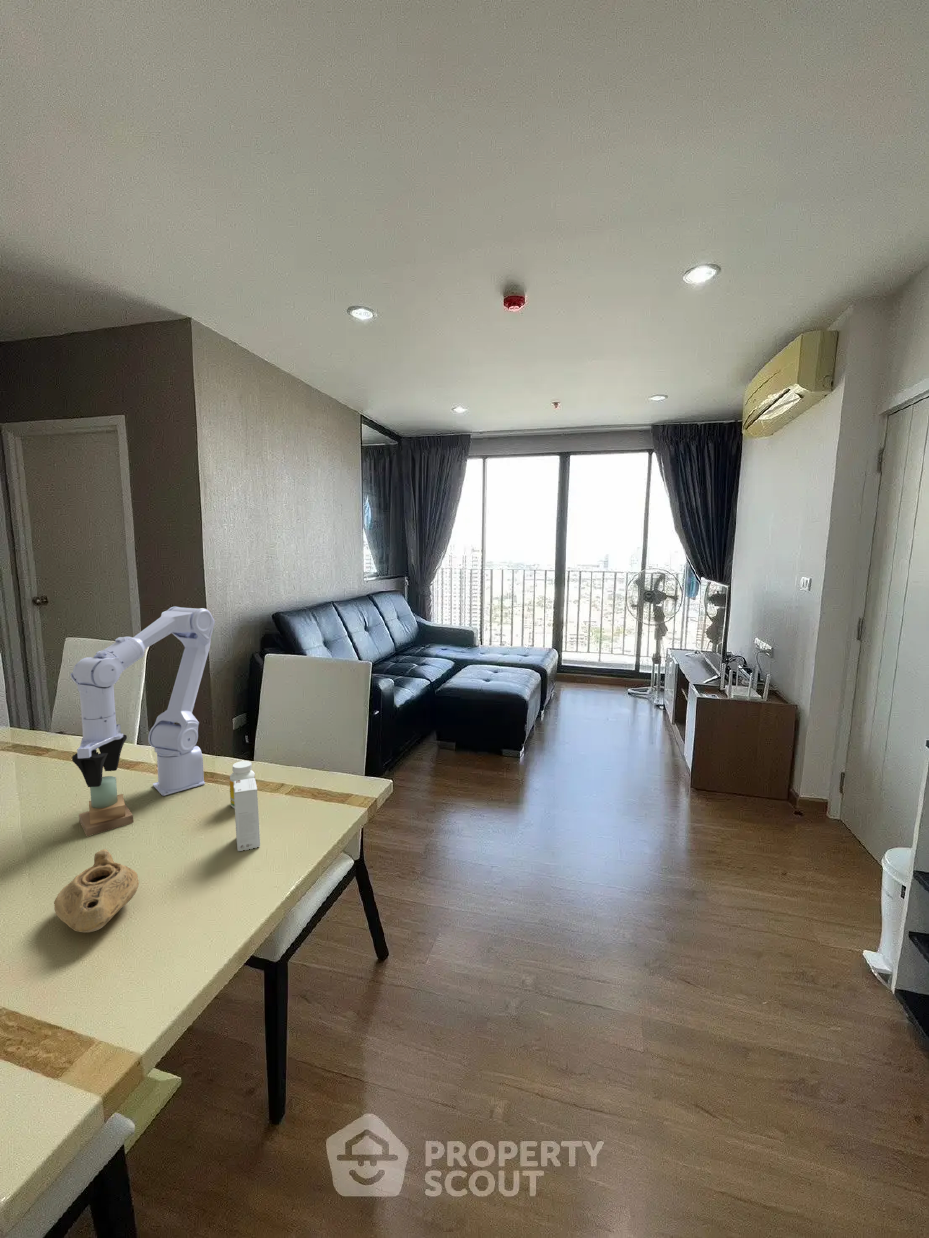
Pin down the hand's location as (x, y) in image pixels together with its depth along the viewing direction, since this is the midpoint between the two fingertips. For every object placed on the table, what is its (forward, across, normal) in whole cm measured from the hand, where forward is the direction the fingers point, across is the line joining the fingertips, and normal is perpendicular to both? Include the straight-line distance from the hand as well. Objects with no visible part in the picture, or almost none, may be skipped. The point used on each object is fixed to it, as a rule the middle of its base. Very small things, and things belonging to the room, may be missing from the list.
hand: (103, 778), depth 107 cm
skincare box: (+10, -14, -30) cm, 35 cm away
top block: (+8, 0, 0) cm, 8 cm away
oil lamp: (+10, -31, -12) cm, 35 cm away
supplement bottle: (+10, +3, -27) cm, 29 cm away
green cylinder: (+6, 0, 0) cm, 6 cm away
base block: (+10, 0, 0) cm, 11 cm away
